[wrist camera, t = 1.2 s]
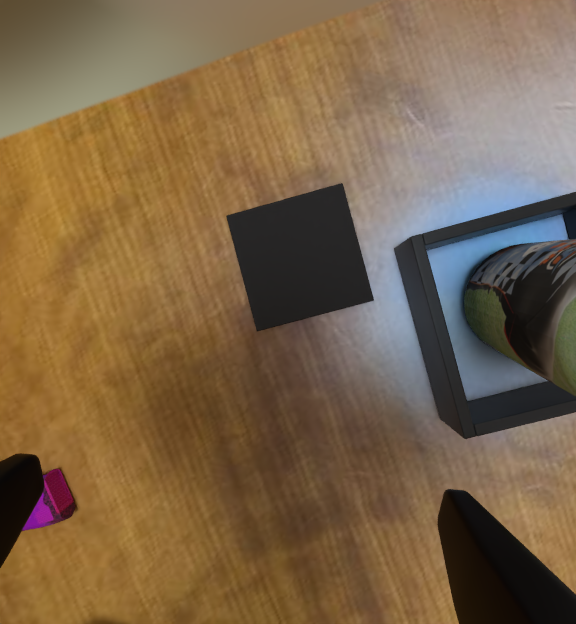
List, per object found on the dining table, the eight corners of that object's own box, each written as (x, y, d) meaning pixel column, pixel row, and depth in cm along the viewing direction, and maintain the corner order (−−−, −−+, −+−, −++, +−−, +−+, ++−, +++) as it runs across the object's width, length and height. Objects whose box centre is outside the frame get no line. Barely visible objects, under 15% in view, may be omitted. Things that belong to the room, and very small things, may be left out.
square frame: (617, 374, 22) (678, 387, 18) (439, 419, 22) (464, 439, 18) (570, 200, 22) (621, 179, 18) (393, 248, 22) (409, 236, 19)
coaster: (373, 300, 22) (374, 300, 22) (257, 331, 22) (257, 331, 22) (342, 184, 22) (342, 183, 22) (226, 216, 23) (226, 215, 22)
